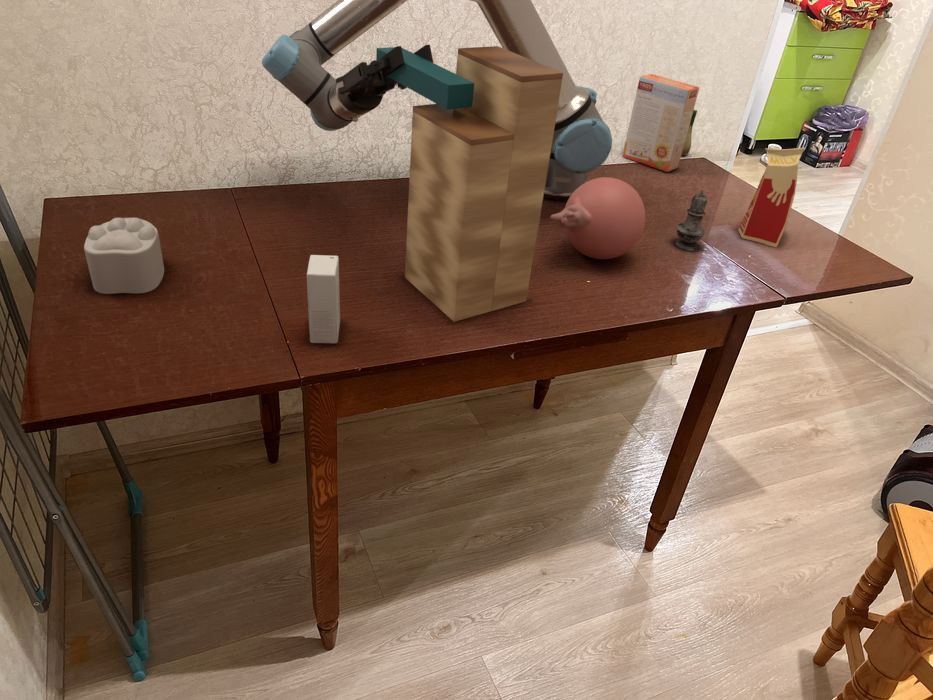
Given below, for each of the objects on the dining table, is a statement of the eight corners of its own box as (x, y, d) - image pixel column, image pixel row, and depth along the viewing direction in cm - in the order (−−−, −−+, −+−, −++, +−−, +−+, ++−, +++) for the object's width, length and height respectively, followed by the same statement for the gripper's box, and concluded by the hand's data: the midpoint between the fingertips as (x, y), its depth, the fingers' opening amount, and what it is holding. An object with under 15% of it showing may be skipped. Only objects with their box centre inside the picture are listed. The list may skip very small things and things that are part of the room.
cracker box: (678, 168, 185) (701, 86, 173) (667, 173, 181) (689, 89, 169) (633, 152, 192) (651, 72, 180) (621, 156, 189) (639, 75, 177)
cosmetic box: (312, 321, 111) (310, 253, 105) (340, 322, 112) (339, 254, 105) (308, 343, 106) (305, 273, 100) (337, 344, 107) (336, 275, 100)
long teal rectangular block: (375, 70, 118) (376, 47, 116) (399, 68, 120) (400, 46, 118) (446, 109, 103) (448, 85, 101) (472, 107, 106) (474, 82, 104)
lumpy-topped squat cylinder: (87, 294, 112) (75, 244, 107) (105, 255, 122) (95, 208, 117) (157, 293, 114) (148, 244, 109) (169, 254, 124) (162, 209, 119)
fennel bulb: (683, 150, 197) (695, 107, 191) (693, 157, 194) (705, 113, 187) (665, 151, 196) (677, 107, 189) (675, 157, 192) (687, 113, 185)
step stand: (404, 277, 125) (415, 50, 104) (474, 260, 133) (497, 45, 111) (453, 322, 115) (477, 80, 93) (526, 301, 123) (563, 72, 101)
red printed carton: (782, 232, 157) (816, 144, 146) (778, 248, 150) (813, 156, 139) (740, 222, 160) (770, 134, 148) (734, 237, 153) (765, 146, 141)
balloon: (523, 243, 141) (534, 169, 132) (607, 233, 148) (623, 162, 139) (561, 281, 129) (576, 203, 121) (650, 268, 137) (671, 193, 128)
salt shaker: (701, 253, 145) (719, 198, 138) (672, 248, 145) (688, 193, 138) (699, 241, 149) (716, 187, 142) (671, 236, 150) (687, 182, 143)
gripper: (402, 110, 135) (466, 75, 116) (316, 119, 127) (370, 83, 107) (394, 70, 134) (457, 27, 114) (307, 76, 125) (359, 31, 106)
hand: (415, 54), depth 111 cm, fingers closed on long teal rectangular block, 4 cm apart
